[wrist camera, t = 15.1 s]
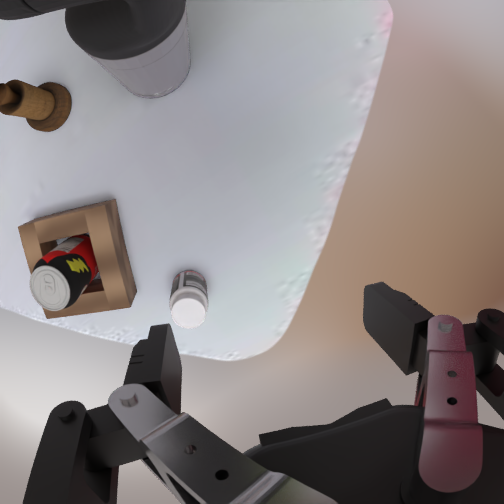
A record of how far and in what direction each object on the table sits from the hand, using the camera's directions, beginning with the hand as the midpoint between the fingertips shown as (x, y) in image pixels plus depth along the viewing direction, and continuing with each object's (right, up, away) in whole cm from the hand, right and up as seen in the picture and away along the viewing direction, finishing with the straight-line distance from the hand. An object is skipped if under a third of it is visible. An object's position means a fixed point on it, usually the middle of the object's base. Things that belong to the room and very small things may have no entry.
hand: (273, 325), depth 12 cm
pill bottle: (-9, -2, +31) cm, 32 cm away
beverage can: (-24, +3, +27) cm, 36 cm away
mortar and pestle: (-28, +22, +21) cm, 41 cm away
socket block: (-24, +2, +27) cm, 36 cm away
